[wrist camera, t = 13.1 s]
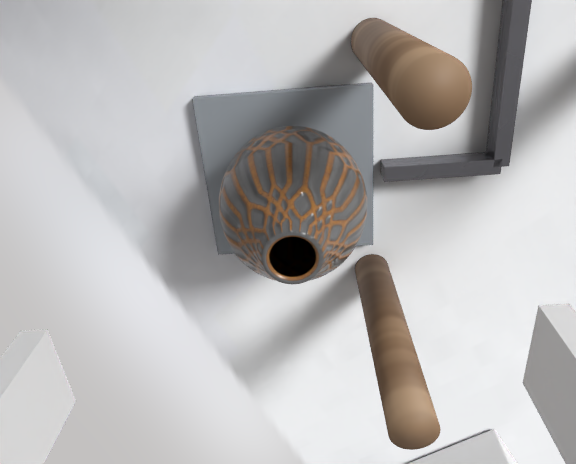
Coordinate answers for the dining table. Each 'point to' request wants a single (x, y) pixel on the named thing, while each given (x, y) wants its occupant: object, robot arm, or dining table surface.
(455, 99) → the posts
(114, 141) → the dining table surface
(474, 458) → the milk carton
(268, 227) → the vase
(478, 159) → the grey l-shaped bracket
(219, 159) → the pad
